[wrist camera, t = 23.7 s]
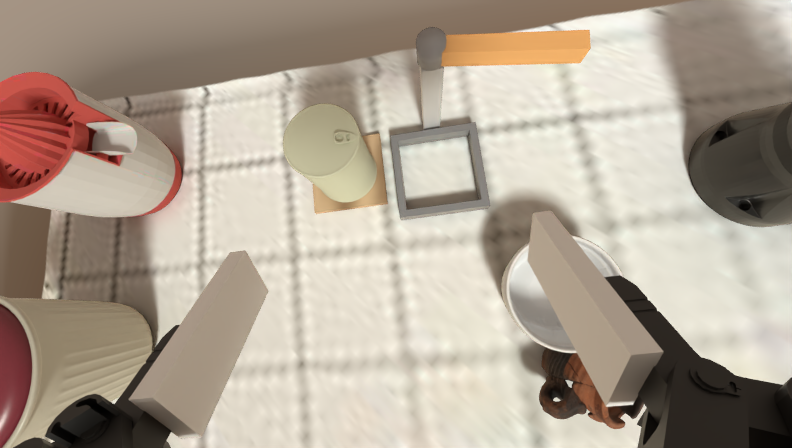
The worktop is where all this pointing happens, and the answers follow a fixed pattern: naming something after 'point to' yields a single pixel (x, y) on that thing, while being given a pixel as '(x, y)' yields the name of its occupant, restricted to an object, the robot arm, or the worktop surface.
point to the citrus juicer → (78, 153)
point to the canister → (63, 358)
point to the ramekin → (544, 296)
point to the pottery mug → (578, 392)
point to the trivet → (372, 197)
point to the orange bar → (500, 48)
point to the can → (330, 152)
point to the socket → (432, 132)
